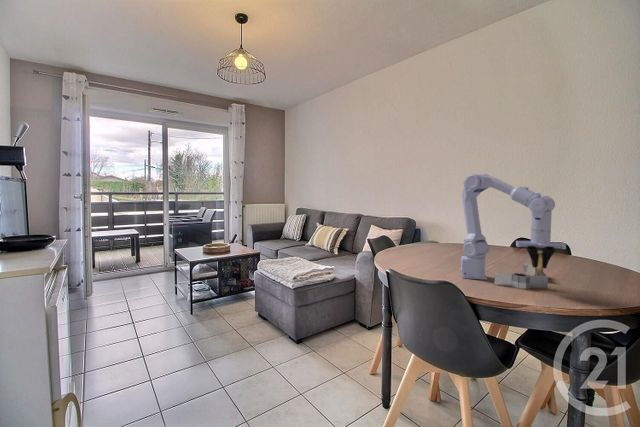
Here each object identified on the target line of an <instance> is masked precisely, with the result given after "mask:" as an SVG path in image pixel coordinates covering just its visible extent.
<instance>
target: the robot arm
mask: <svg viewBox="0 0 640 427" xmlns="http://www.w3.org/2000/svg"><path fill="white" fill-rule="evenodd" d="M489 188H492V189H495V190H497V191H500V192H502V193H503V194H506V195H509V196H510V199H511V200H512V201H514V202H516V203H518V204H520V205H522V206H524V207H526V208H528V209H529V210H530V211H531V221H530V222H531V224H530V226H531V227H530V240H515V246H516V247H517V248H521V247H522V248H525V249H526V250H527V252H528V254H529V257H530V262H532V266H533V267H534V268H536V266H537V252H539V251H538V250H537V248H541V251H542V252H541V253H544V267H543V269H547V266H548V264H549V261H550V259H551V258H552V256H553V255H554V253H556V250H555V249H562V250H566V249H567V244H566V242H556V241H555V242H554V241H551V234H552V215H553V214H552V211H553V210H554V208H555V206H556V202H555V200H554V199H553V197H550V196H548V195H544V196H543V195H542V193H540V192H537V193H536V192H535V191H532V190H530V189H529V187H527V186H518V187H515V186H513V185H511V184H508V183H506V182H505V181H503V180H500V179H499V178H497V177H495V176H492V175H489V174H487V173H484V174H475V173H472V174H469V175H468V176H467V177H466V178H464V180H463V189H462V193H461V198H462V206H463V212H464V220H465V228H466V236H465V238H464V239H463V242H464V244H463V247H462V249H463V250H462V251H463V253H464V254H465V255H461V256H460V275H461V278H462V279H472V280H473V279H475V280H482V281H483V280H487V281H488V278H487V276H486V256H487V254H488V252H489V250H490V246H489V243H488V242H487V239H486V237H485V235H484V234H483V233H482V229H481V228H482V227H481V221H480V214H479V207H478V200H477V199H478V198H477V197H478V196H479V195H480V194H481V193H482V192H484V191H486V190H488V189H489Z"/></svg>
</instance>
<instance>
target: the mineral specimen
mask: <svg viewBox="0 0 640 427" xmlns="http://www.w3.org/2000/svg"><path fill="white" fill-rule="evenodd" d="M544 269H545V268H543V273H537V272H535V268H534V267H533V266H532V261H526V262H524V263H523V264H522V265H521V273H523V274H527V275H532V276H546V277H547V274H546V273H545V271H544Z"/></svg>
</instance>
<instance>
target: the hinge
mask: <svg viewBox="0 0 640 427" xmlns="http://www.w3.org/2000/svg"><path fill="white" fill-rule="evenodd" d="M493 278H494V279H493V280H494V282H493V284H494V285H495V286H509V287H512V288H516V289H522V290H528V289H531V288H532V289H543V290H545V289H546V290H548V288H549V287H548V286H549V277H548V276H547V275H546V276H532V275H527V274H523V273H522V272H513V273H501V272H494V277H493Z"/></svg>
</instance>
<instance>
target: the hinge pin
mask: <svg viewBox="0 0 640 427" xmlns="http://www.w3.org/2000/svg"><path fill="white" fill-rule="evenodd" d="M543 267H544V253H543V252H540V251H538V252H537V266H536V268H535V272H537V273H543V272H544V270H543V269H544V268H543Z"/></svg>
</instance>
